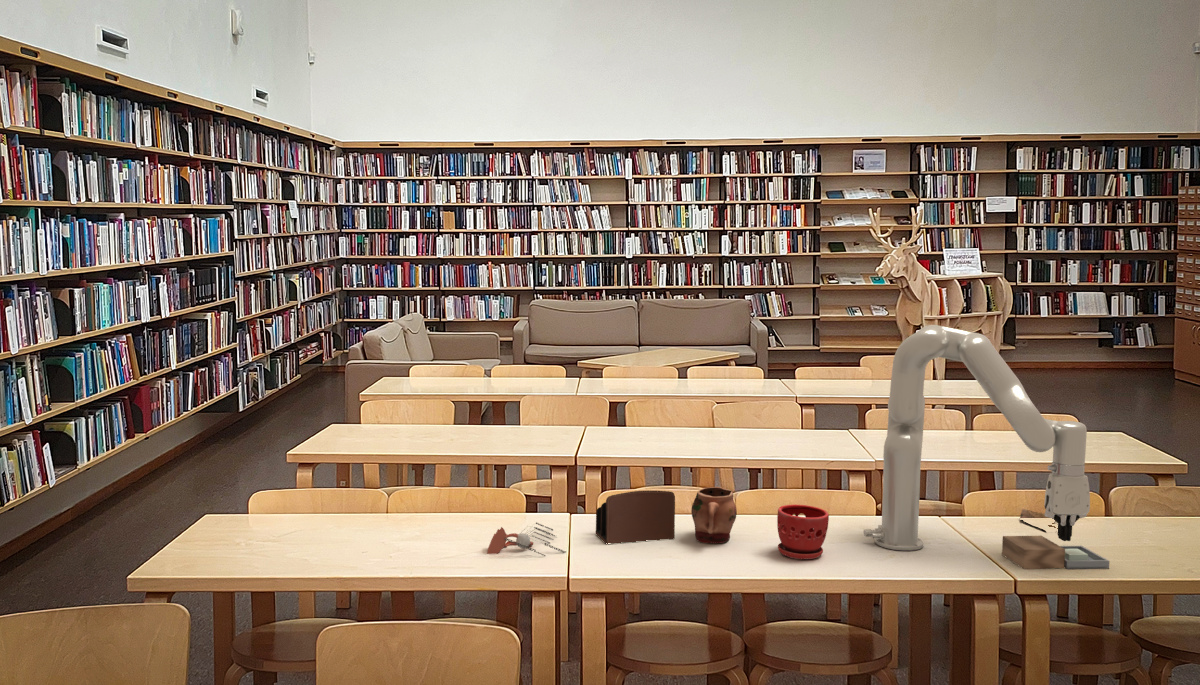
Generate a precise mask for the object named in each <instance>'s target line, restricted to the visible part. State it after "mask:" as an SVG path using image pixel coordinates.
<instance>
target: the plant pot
mask: <svg viewBox="0 0 1200 685" xmlns="http://www.w3.org/2000/svg"><path fill="white" fill-rule="evenodd" d="M801 514H802V515H804V516H799V515H801ZM829 516H830V514H829V512H828V511H827V510H825V509H823V508H820V507H816V506H813V505H808V504H807V505H805V504H785V505H781V506H780V507H778V509H777V517H776V518H777V519H776V520H777V521H776V522H777V524H776V525H777V534H778V537H779V540H780V542H779V544H778V545H777V549H778V551H779V552H780V554H782V555H783V556H785V557H787V558H791V559H796V560H813V559H817V558H819V557H820V556H822V554H823V553H824V549H823V547H822V545H823V544H824V542H825V540H826V538H827V533H828V528H829V520H830V517H829Z"/></svg>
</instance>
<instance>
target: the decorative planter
mask: <svg viewBox="0 0 1200 685" xmlns="http://www.w3.org/2000/svg"><path fill="white" fill-rule="evenodd" d="M737 511H738V510H737V506H736V503H735V501H734V493H733V491H732V490H731V489H728V488H727V489H726V488H723V487H721V486H711V487H703V488H701V489H700V490H698V491H697V493H696V496H695V497H694V500H693V502H692V504H691V519H692V520H693V523H694V533H695V534H694V535H695V539H696V541H697V542H700V543H704V544H723V543H727V542H728V541H729V540H730V539H731V532H732V529H733V526H734V524H735V523H736V522H735V521H736V519H737V513H738V512H737Z"/></svg>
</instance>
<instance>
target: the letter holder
mask: <svg viewBox="0 0 1200 685" xmlns="http://www.w3.org/2000/svg"><path fill="white" fill-rule="evenodd" d="M675 515H676V496H675V493H674V492H672V491H669V490H668V491H667V490H635V491H627V492H622V493H617V494H611V495H609V496H608V497H607V498H606V499H605V501H604V502H602V504H601V505H600V507H598V508H596V512H595V535H596V534H597V535H598V536H599V537H600V538H601V539H602V540H603V541H604V542H605V543H604V542H603V541H602V540H601V539H600V538H599V537H598V536H597V535H596V536H597V537H598V538H599V539H600V540H601V541H602V542H603V543H604V544H606V543H607V544H608V543H620V544H622V543H621V542H632V543H637V542H636V541H645V542H647V541H646V540H657V541H661V540H660V539H669V540H674V539H675V536H676V535H675V533H676V532H675V531H676V530H675V529H676V528H675V526H676V525H675V522H676V520H675V519H676V516H675ZM673 538H674V539H673ZM607 544H606V545H607ZM608 545H609V544H608Z"/></svg>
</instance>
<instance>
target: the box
mask: <svg viewBox="0 0 1200 685" xmlns="http://www.w3.org/2000/svg"><path fill="white" fill-rule="evenodd" d="M1059 546H1060V547H1062V548H1064V549H1079V550H1081V551H1083V552H1085V553H1086V554H1088V560H1082V561H1068V560H1066V559H1065V560H1064V567H1065V568H1064V569H1066V570H1094V569H1095V570H1096V569H1098V570H1100V569H1102V570H1104V569H1105V570H1106V569H1107V570H1108V569H1110V560H1109V559H1107V558H1106V557H1103V556H1102V555H1099V554H1098V553H1096V552H1094V551H1092V550H1091V549H1089V548H1087V547H1084V546H1083V545H1059Z"/></svg>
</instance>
